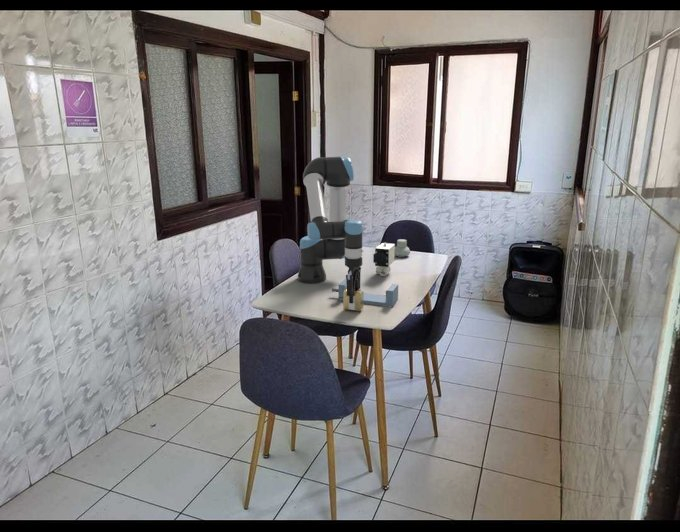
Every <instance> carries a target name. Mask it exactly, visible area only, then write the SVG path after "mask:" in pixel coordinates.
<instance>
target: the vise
mask: <svg viewBox="0 0 680 532" xmlns="http://www.w3.org/2000/svg"><path fill="white" fill-rule="evenodd" d="M339 300H340V302H341V301H342V302H343V297H339V296H338V301H339ZM398 300H399V283H391V284H390V285H389V286H388V287H387V288H386V290H385V294H379V293H370V292H369V293H368V292H364V299H363V305H364V304H366V305H373V306H374V305H375V306H381V305H383V307H390V306H391V308H393V307H394V306H395V304H396V303H397V301H398Z"/></svg>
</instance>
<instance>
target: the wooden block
mask: <svg viewBox="0 0 680 532" xmlns="http://www.w3.org/2000/svg"><path fill="white" fill-rule="evenodd" d="M364 293H365V292H364V290H361V289H359V290H355V291H354V296H355V310H354V311H358V312H361V311H362V310H363V309H364V303H363V299H364ZM346 294H347V289H346V290H345V291H344V292H343V301H342V302H343V305H342V306H343V310H350V309H349V296H347V295H346Z"/></svg>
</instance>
